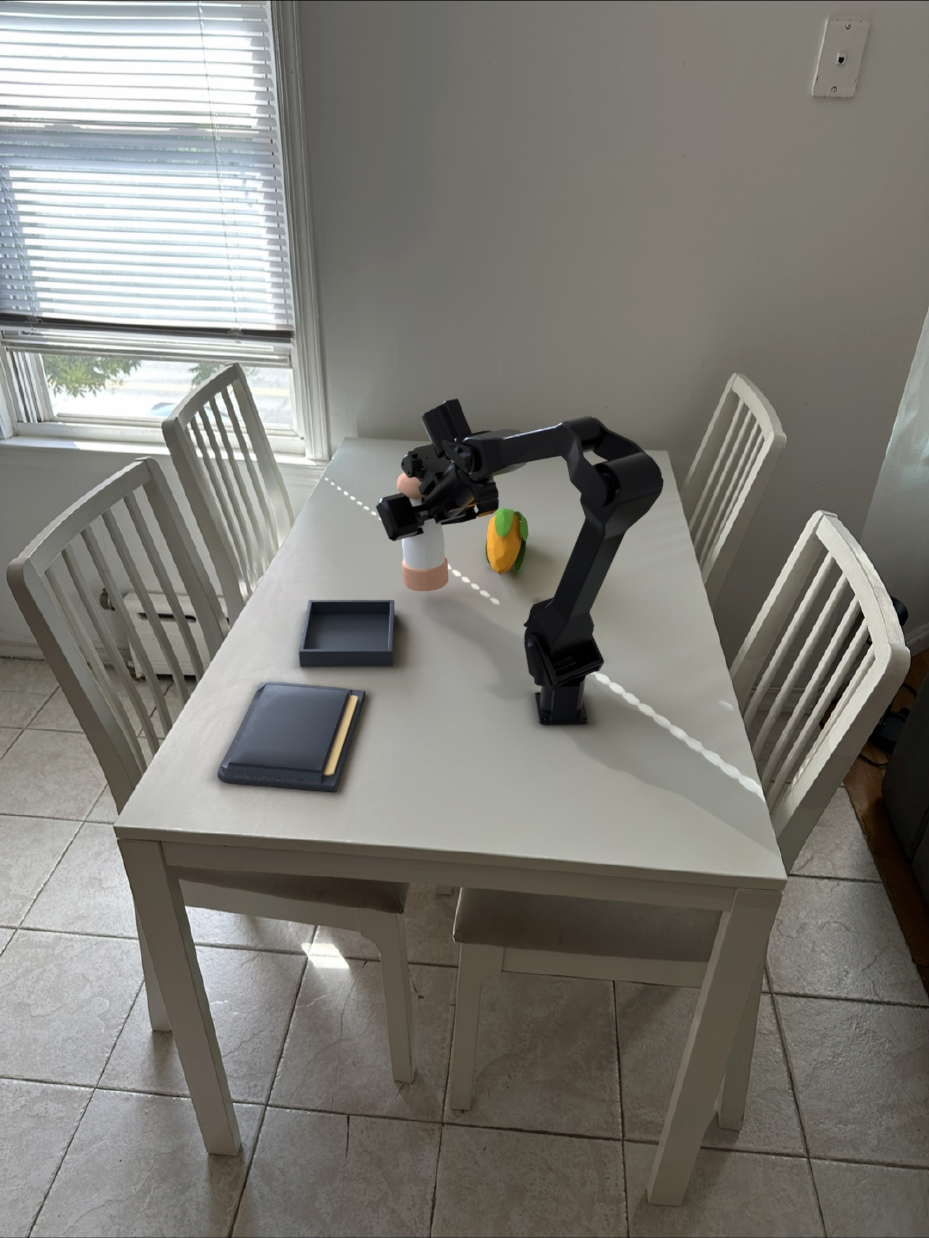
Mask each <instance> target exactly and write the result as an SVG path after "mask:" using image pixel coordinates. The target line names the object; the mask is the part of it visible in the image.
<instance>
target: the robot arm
mask: <svg viewBox="0 0 929 1238" xmlns="http://www.w3.org/2000/svg"><path fill="white" fill-rule="evenodd" d="M420 420H421V422H422V424H423V426H424V429H425V432H426V434H427V436H428V438H429V441H430V443H429V444H425V445H420V446H417V447H414V448H413V450H409V451H407V454H405V455H403V457H402V460H401V462H400V467H401V470H402V471H403V473H404V472H405V474H406V475H407V477H408V478H413V477H416V478H417V479H418V480H419V481H420V482H421V484H420V486H419V487H418V489H419V491H420V494H421V495H423V494H424V496H425V497H422V498H421V499H420V501H421V503H422V505H418V506H413V505H412V503H411V501H410V499H409V497H407V496H406V495H405V494H403V493H399V492H398V493H395V494H391V495H387V496H383V497H381V498H380V499H379V501H378V502H377V504H376V506H375V509H376V511H377V514H378V516H379V518H380V520H381V521H380V522H381V523H382V525H383V527H384V531H385V533H386V535H387V537H388V540H390V541H392V542H397V541H400V540H401V541H402V539H404V538H408V537H413V536H416V535H420V534H423V533H424V532H423V529H422V526H423V525H424V521H428V520H432V519H434V520H435V522H436V524H438V523H441V525H442V526H445V525H446V526H447V525H454V524H455V525H456V524H462V523H466V522H470V521H473V520H476V519H477V518H482V517H486V516H489V515H493V514H494V513H496V510H498V509H500V508H499V507H500V499H499V497H500V495H499V493H500V492H499V489H498V487H497V482H496V481H495V479H494V478H495V476H501V475H504V474H509V473H512V472H515V471H517V470H519V469H520V468H523V467H525V466H526V465H527V463H531V462H536V461H542V460H547V459H552V458H557V457H561V458H562V459H563V460H564V461H565V462H566V468H567V470H568V477H569V478H568V479H569V481H570V483H571V484H572V485H573V486H574V487H575V488H576V489H577V490H578V492H579V493H580V496H579V497H580V498H579V503H580V505H581V508H582V509H581V510H582V512H583V515H584V521H583V523H582V525H581V529H580V531H579V533H578V536H577V538H576V541H575V543H574V546H573V548H572V550H571V553H570V555H569V558H568V561H567V563H566V566H565V568H564V570H563V573H562V575H561V578H560V580H559V583H558V585H557V588H556V590H555V592H554V595H553V597H549V598H547V599H544V600H542V601H538V602H535V603H533V604H532V606H531V607H530V610H529V613H528V618H527V619H526V621H525V622H524V623H523V627H524V628H525V631H524V634H523V635H524V636H523V645H524V651H525V657H526V665H527V669H528V674H529V676H531V677H532V678H533V680H534V681H533V683H534V684H535V685H536V686H539V687H540V691H537V692H535V693H534V701H535V708H536V713H537V719H538V723H539V724H540V725H584V724H585V725H586V724H588V723H589V719H588V718H589V717H588V714H587V710H586V706H585V703H584V696H585V687H586V680H587V679H586V678H587V676H589V675H591V674H594V673H598V672H600V671H601V670H602V668H603V665H604V663H605V660H604V657H603V656H602V654H601V650H600V648H599V646H598V644H597V642H596V640H595V639H596V638H595V637H594V634H593V633H594V629H595V623H594V620H593V616H592V614H591V610H592V608H593V605H594V603H595V601H596V599H597V597H598V595H599V593H600V590H601V588H602V586H603V583H604V581H605V579H606V576H607V575H608V572H609V571H610V568H611V566H612V564H613V561H614V560H615V557H616V555H617V552H618V550H619V548H620V546H621V543H622V542H623V539H624V537H625V535H626V533H627V531H628V530H629V529H631V528H632V527H633V526H634V525H635V524H636V523H637V522H638V521H639V520H641V519H642V518H643V517H644V516H645V515H646V514H647V513H648V512H649V511H650V510H651V509H652V508H653V505H654V504H655V503H656V501H657V500H658V499H659V497H660V496H661V494H662V492H663V488H664V482H665V481H664V478H663V474H662V471H661V467H659V465H658V463H657V462H656V460H655V459H654V458H653V457H652V456H650V455H649V454H648V453H647V452H646V451H645V450H644V449H642V448H641V446H640V445H638V443H637V442H635V441H633V440H632V439H630V438H628V437H625V436H623V435H621V434H619V433H618V432H615V431H613V430H611V429H609V428H608V427H606V425H605V424H604V423H603V422H602V421H601V420H600V419H599V418H597V417H593V416H592V415H585V416H581V417H577V418H572V419H568V420H563V421H561V422H560V423H558V424H556V425H552V426H548V427H544V428H539V429H535V430H531V431H530V430H529V431H525V432H524V431H520V429H513V428H511V429H510V428H502V429H498V430H491V429H485V430H480V431H476V432H472V430H471V426H470V425H469V423H468V420H467V418H466V415H465V414H464V411H463V408H462V404H461V402H460V400H459V399H458V398H457V397H456V398H451V399H448V400H445V401H443V403H442V404H439V405H437V406H435V407H434V408H433V407H432V408H431V409H430V410H429V411H426V412H424V413H423V414H422V415H421V417H420ZM589 452H592V453H594V454H595V455H596V456H597V457H599V458H601V459H603V460H604V461H601V462H596V463H594V464H592V463H591V462H590V461H589V460H588V459H587V458H586V457H585V455H584V454H586V453H589ZM475 508H476V509H477V511H476V509H475ZM426 513H427V514H426ZM422 514H423V516H422ZM424 514H425V515H424Z"/></svg>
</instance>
